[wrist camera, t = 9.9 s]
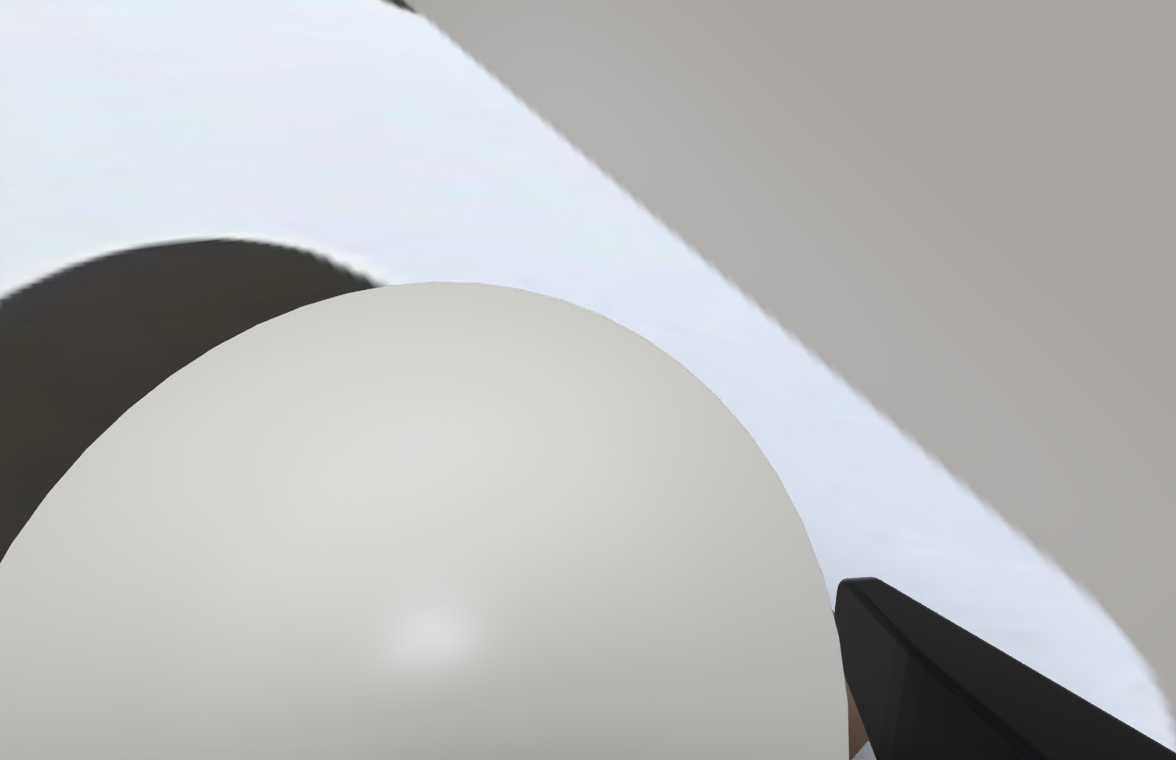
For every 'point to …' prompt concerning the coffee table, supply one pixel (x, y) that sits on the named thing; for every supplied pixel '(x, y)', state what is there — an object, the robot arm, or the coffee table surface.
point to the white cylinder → (421, 555)
